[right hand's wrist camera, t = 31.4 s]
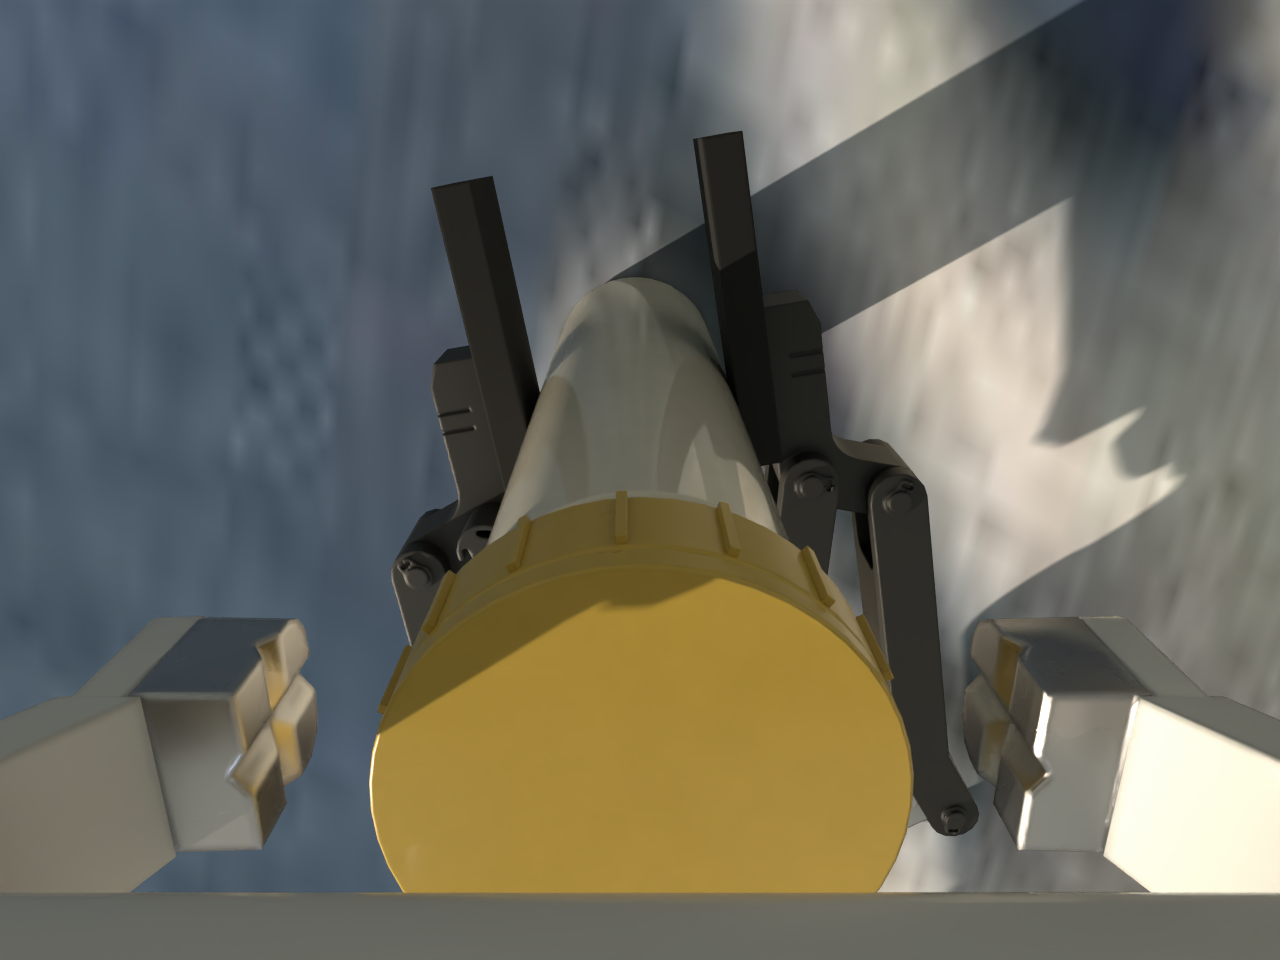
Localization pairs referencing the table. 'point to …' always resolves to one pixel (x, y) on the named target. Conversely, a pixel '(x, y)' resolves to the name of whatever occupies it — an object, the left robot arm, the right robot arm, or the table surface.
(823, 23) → the table surface
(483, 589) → the lid
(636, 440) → the jar
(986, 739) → the right robot arm
